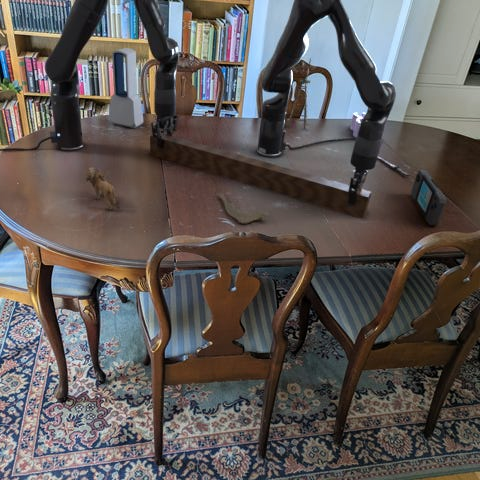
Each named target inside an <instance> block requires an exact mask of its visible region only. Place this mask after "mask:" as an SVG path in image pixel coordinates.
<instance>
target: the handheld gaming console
mask: <svg viewBox="0 0 480 480" xmlns="http://www.w3.org/2000/svg"><path fill="white" fill-rule="evenodd" d="M410 192H411V193H410V195H411V197H412V199H413V201H414V203H415V205H416V207H417V208H418V210H419V211H420V213H421V215H422V216H423V218H424V220H425V221H426V223H427V224H428V225H429V226H430V227H437V225H439V224H440V221H441V218H442V215H443V213H444V210H445V208H446V204H447V198H446V196H445V195H444V193H443V191H442V190H441V189H440V188H439V186H438V185H437V183H436V182H435V181H434V179H433V178H432V177H431V175H430V174H429V172H427V171H426V170H425V169H419V170H417V172H416V175H415V178H414V181H413V185H412V188H411V191H410Z"/></svg>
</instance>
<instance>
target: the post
mask: <svg viewBox="0 0 480 480" xmlns="http://www.w3.org/2000/svg"><path fill="white" fill-rule="evenodd" d="M166 134H167V133H164V137H163V148H162V149H160V148H158V147H157V138H153V134H151V135H149V155H150V156H153V157H156V158H160V159H163V160H167V161H169V162H172V163H176V164H180V165H183V166H187V167H189V168H193V169H196V170H200V171H203V172H206V173H210V174H213V175H216V176H220V177H223V178H226V179H229V180H233V181H235V182H236V181H237V182H240V183H242V184H247V185H250V186H254V187H257V188H260V189H263V190H267V191H269V192H273V193H277V194H281V195H283V196H287V197H290V198H293V199H297V200H299V201H304V202H306V203H310V204H313V205H317V206H321V207H323V208H326V209H330V210H333V211H337V212H340V213H343V214H347V215H350V216H353V217H357V218H360V219H364V217H365V215H366V214H367V211H368V208H369V204H370V200H371V196H372V193H373V191H372V190H368V189H363V188H362V187H361V188H359V190H358V194H357V197H356V200H355V204H354V205H351V204H348V203H347V202H348V198H349V193H348V191H349V186H350V184H346V183H342V182H338V181H335V180H332V179H328V178H325V177H321V176H317V175H313V174H310V173H307V172H302V171H299V170H297V169H292V168H289V167H286V166H281V165H278V164H274V163H270V162H266V161H263V160H260V159H256V158H253V157H249V156H246V155H242V154H238V153H236V152H235V153H234V152H231V151H227V150H224V149H220V148H217V147H212V146H209V145H205V144H202V143H198V142H194V141H192V140H188V139H185V138H181V137H177V136H174V135H172V136H170V135H166ZM160 135H161V132H160ZM352 190H355V189H352Z"/></svg>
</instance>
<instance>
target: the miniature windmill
mask: <svg viewBox="0 0 480 480" xmlns="http://www.w3.org/2000/svg"><path fill="white" fill-rule="evenodd" d="M311 60H312V58H311V57H310V58H309V61H308V67H307V66H306V67H304V66H302V65H300V64H299V65H298V64H296V67H295V71H304V75H303V78H302V79H301V78H300V79H299V81H298V82H299V83H301V84H300V85H299V89H298V91H297V95H296V98H295V100H294V104H293V107H292V110H291V113H290V116H289V118H288V119H289V120H288V123H287V125H286V126H287V127H289V126H290V123H291V121H293V120H294V121H299V122H303V130H306V125H307V119H308V115H307V107H308V105H307V98H308V96H307V88H308V86H307V84H311V80H309V79H308V78H309V74H310V66H311V62H312V61H311ZM306 73H307V74H306ZM302 90H304V94H300V93H301V91H302ZM299 99H302V100H304V103H303V104H302V103H297V102H298V100H299ZM297 106H303V107H297ZM295 109H299V110H303V112H304V113H303V114H296V113H294V112H295ZM293 116H297V117H303V119H297V118H292V117H293Z"/></svg>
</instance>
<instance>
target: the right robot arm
mask: <svg viewBox="0 0 480 480" xmlns="http://www.w3.org/2000/svg"><path fill="white" fill-rule="evenodd" d="M326 18H328V19H329V20H330V22H331V24H332V25H333V27H334V29H335V33H336V38H337V39H336V41H337V49H338V56H339V59H340V62H341V64H342V66H343V67H344V69H345V70H346V72H347V73H348V74H349V76H350V78H351V79H352V80H353V82H354V85H355V87H356V89H357V92H358V94H359V98H360V99H361V101H362V102H363V104H364V105H365V106H366V107H367V109H366V112H365V113H366V114H365V116H364V117H363V118H362V120H361V123H360V127H359V131H358V135H357V137H344V138H343V137H342V138H333V139H325V140H320V141H315V142H311V143H308V144H307V143H306V144H303V145H298V146H296V147H292V146H291V145H290V144H287V142H285V136H286V130H284V128H285V122H286V115H287V108H288V104H289V99H290V93H291V88H292V83H293V71H292V68H293V67H294V66H297V65H298V64H299V63H300V61H301V60H302V59H303V57H304V56H305V54H306V52H307V50H308V48H309V36H308V32H309V31H310V29H311V28H312V27H313V26H314V25H316V24H317V23H319V22H321V21H323V20H324V19H326ZM260 87H261V89H262V90H263V91H264V92H266V93H273V94H276V95H275V96H273V97H271V98H268V99H265V100H263V102H262V105H261V114H260V123H259V131H258V138H257V139H258V140H257V148H256V153H257V154H258V155H259V156H262V157H264V158H265V157H266V158H277V157H279V156H281V155H282V154H283V151H286V147H287V148H288V149H289V150H299V149H303V148H306V147H310V146H314V145H318V144H324V143H330V142H340V141H353V140H354V144H353V148H352V152H351V157H350V160H349V162H350V163H349V164H350V165H351V166H352V167H354V170H353V171H352V173H351V178H350V181H349V185H350V186H349V191H348V193H349V198H348V202H347V203H348V204H351V205H354V204H355V200H356V197H357V194H358V190H359V188H361V189H362V188H363V187H364V183H365V182H366V179H367V175H368V173H369V171H370V170H373V169H374V168H375V167H376V163H377V160H378V158H377V157H378V156H379V153H380V149H381V145H382V140H383V137H384V133H383V132H385V129H386V123H387V121H388V119H389V116H390V114H391V112H392V110H393V107H394V104H395V101H396V97H397V91H396V90H397V89H396V87H395V85H394V84H393V83H392V82H390V81H387V80H385V81H381V80H380V78H379V77H378V75H377V66H376V63H375V62H374V60H373V59H372V57H371V56H370V54H369V53H368V51H367V50H366V49H365V47H364V45H363V44H362V41H360V38H359V37H358V34H357V33H356V30H355V29H354V26H353V24H352V22H351V20H350V18H349V15H348V13H347V11H346V8H345V7H344V4H343V2H342V0H293V2H292V7H291V10H290V13H289V16H288V19H287V23H286V25H285V27H284V29H283V32H282V34H281V35H280V38H279V39H278V42H277V44H276V47H275V49H274V51H273V54H272V56H271V58H270V59H269V60H268V63H267V64H266V65H265V67H264V69H263V71H262V73H261V78H260ZM384 128H385V129H384ZM382 136H383V137H382ZM381 139H382V140H381ZM352 189H355V190H352Z"/></svg>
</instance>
